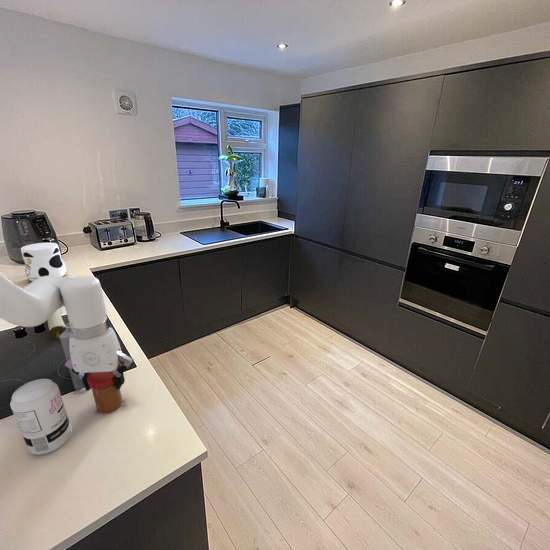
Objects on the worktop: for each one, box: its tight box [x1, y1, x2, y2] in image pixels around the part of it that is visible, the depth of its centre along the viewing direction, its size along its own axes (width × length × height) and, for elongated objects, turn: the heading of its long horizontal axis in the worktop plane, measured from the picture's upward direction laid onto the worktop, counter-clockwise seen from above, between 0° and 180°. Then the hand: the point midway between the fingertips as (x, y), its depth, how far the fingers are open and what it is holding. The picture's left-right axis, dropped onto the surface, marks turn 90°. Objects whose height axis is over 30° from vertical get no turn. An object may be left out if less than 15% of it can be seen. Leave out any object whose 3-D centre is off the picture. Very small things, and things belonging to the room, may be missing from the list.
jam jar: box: [91, 383, 123, 415], centre depth 75 cm, size 6×6×10 cm
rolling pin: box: [46, 308, 66, 340], centre depth 113 cm, size 32×6×5 cm, turn 38°
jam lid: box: [87, 371, 115, 390], centre depth 74 cm, size 7×7×2 cm
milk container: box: [20, 242, 67, 282], centre depth 152 cm, size 17×17×18 cm
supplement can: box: [9, 378, 73, 455], centre depth 64 cm, size 8×8×15 cm
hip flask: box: [59, 328, 85, 391], centre depth 85 cm, size 16×4×20 cm, turn 15°
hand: (105, 385), depth 75 cm, fingers closed on jam lid, 6 cm apart
